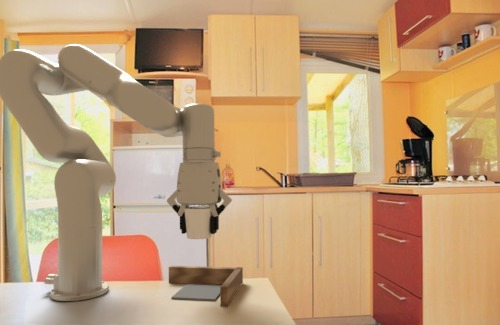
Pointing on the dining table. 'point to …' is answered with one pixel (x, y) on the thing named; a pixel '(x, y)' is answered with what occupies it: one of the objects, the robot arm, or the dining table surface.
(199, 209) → the white cup
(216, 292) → the pad
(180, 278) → the wooden corner fence
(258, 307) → the dining table surface
